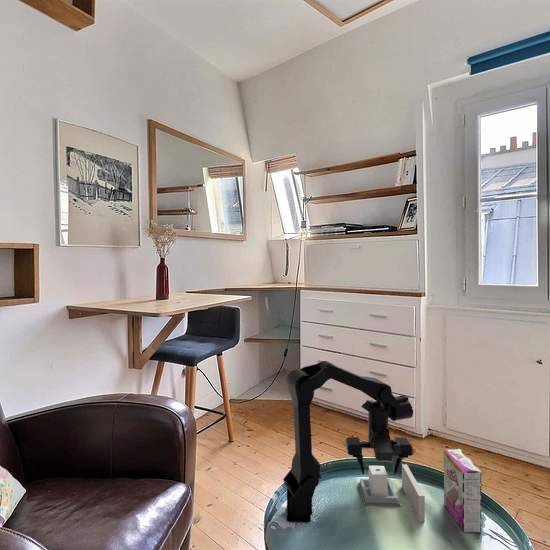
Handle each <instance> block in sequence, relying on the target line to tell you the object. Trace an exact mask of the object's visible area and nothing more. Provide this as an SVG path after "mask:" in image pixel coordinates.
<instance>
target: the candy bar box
mask: <svg viewBox="0 0 550 550" xmlns="http://www.w3.org/2000/svg"><path fill="white" fill-rule="evenodd" d="M443 485H444V486H443V504H444V507H445V508H446V509H447V510H448V512H449V514H450V515H451V516H452V518H453V519H454V521H455V522H456V524H457V525H458V526H459V528H460V530H461V531H462V532H463V533H465V534H467V533H468V534H469V533H470V534H471V533H472V534H473V533H476V534H478V533H482V470H481V469H480V468H479V467H478V466H476V464H475V463H474V462H473V461H472V459H470V458H469V457H468V456H467V455H466V453H464V451H462V449H461V448H450V449H449V448H445V449H443Z"/></svg>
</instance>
